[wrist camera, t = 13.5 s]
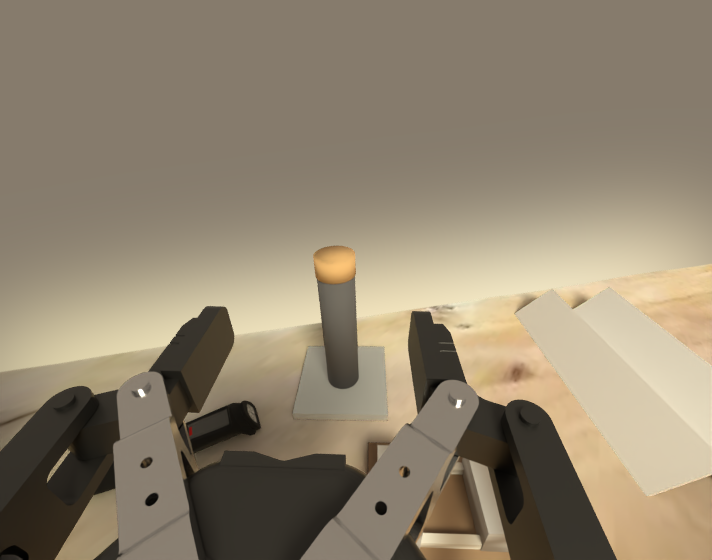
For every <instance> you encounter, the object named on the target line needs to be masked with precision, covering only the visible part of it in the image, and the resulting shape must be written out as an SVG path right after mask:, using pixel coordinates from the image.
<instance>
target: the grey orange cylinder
mask: <svg viewBox="0 0 712 560" xmlns="http://www.w3.org/2000/svg"><path fill="white" fill-rule="evenodd" d="M313 258H314V266H315V274H316V278H317V283H318V292H319V301H320V309H321V319H322V328H323V337H324V346H325V354H326V363H327V372H328V380H329V383H330V384H331V385H332V386H333V387H335V388H338V389H347V388H350V387H352V386H354V385H355V384H356V383H357V381H358V379H359V370H358V345H357V320H356V298H355V297H356V296H355V274H356V268H355V252H354V251H353V250H352V249H351V248H348V247H344V246H329V247H324V248H322V249H319V250H318V251H316V252H315V253H314V255H313Z"/></svg>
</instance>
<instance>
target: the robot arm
mask: <svg viewBox="0 0 712 560" xmlns="http://www.w3.org/2000/svg"><path fill="white" fill-rule="evenodd" d="M233 343H234V332H233V329H232V325H231V321H230V318H229V314H228V311H227V309H226V307H215V306H207V307H205V308H204V309H203V311H202V312H201V314H200V315H199V316H198V318H192V319H191V320H190V321H188V322H187V323H186V324H184V325H183V326H182V327H181V328H180V330H179V331H178V332H177V334H176V337H174V338H173V339H172V341H171V342H170V344H169V345H168V346H167V347H166V349H165V350H164V351H163V353H162V354H161V355H160V357H159V358H158V359H157V361H156V362H155V363H154V365H153V366H152V367H151V369H150V370H149V371H148V372H144V373H141V374H138V375H136V376H134V377H132V378H130V379H129V380H127V381H126V382H125V383H124V384H123V385H122V386H121V387H120V389H119V390H115V391H110V392H106V393H101V394H97V395H94V394H93V393H92V391H91V390H90V389H89V388H88V387H85V386H77V387H72V388H69V389H66V390H64V391H62V392H60V393H58V394H56V395H55V396H53V397H52V398H50V399H49V400H48V401H47V402H46V403H45V404H44V405H43V406H42V407H41V408H40V409H39V410H38V411H37V412H36V414H35V415H34V416H33V417H32V418H31V419H30V420H29V421H28V422H27V423H26V424H25V425H24V427H23V428H22V429H21V430H20V431H19V432H18V433H17V434H16V435H15V436H14V437H13V438H12V440H11V441H10V442H9V443H8V444H7V445H6V446H5V447H4V448H3V449H2V450H1V451H0V560H54V559H55V558H56V556H57V554H58V553H59V551H60V549H61V548H62V546H63V544H64V543H65V541H66V539H67V538H68V536H69V535H70V533H71V531H72V530H73V528H74V526H75V525H76V523H77V521H78V520H79V518H80V516H81V515H82V513H83V511H84V510H85V508H86V506H87V505H88V503H89V501H90V500H91V498H92V496H93V495H94V493H95V491H96V490H97V488H98V486H99V485H100V483H101V481H102V480H103V478H104V477H105V475H106V473H107V472H108V470H109V468H110V467H111V465H112V463H113V462H114V470H115V486H116V503H117V520H118V536H119V538H118V539H117V540H116V541H114V542H113V543H112V544H111V545H110V546H109V547H108V548H106V549H105V550H104V551H103V552H102V553H101V554H100V555H98V556H97V557H96V558H95V559H94V560H427V559H426V558H425V556H424V555H423V553H422V552H421V550H420V549H419V547H418V546H417V544H416V543H417V541H418V539H419V537H420V535H421V533H422V532H423V530H424V528H425V526H426V524H427V522H428V520H429V518H430V516H431V514H432V512H433V509H434V507H435V505H436V502H437V500H438V498H439V496H440V494H441V492H442V490H443V488H444V486H445V484H446V483H447V481H448V479H449V477H450V475H451V473H452V471H453V469H454V467H455V465H456V464H457V462H458V460H459V458H460V457H463V458H465V459H468V460H471V461H474V462H476V463H479V464H482V465H484V466H487V467H488V471H489V475H490V479H491V483H492V487H493V491H494V495H495V499H496V503H497V507H498V511H499V515H500V519H501V523H502V527H503V531H504V535H505V539H506V543H507V547H508V551H509V555H510V559H511V560H617V559H616V557H615V554H614V552H613V550H612V548H611V546H610V544H609V542H608V539H607V537H606V535H605V533H604V531H603V529H602V527H601V525H600V522H599V520H598V518H597V516H596V514H595V512H594V510H593V507H592V505H591V503H590V501H589V499H588V497H587V495H586V492H585V490H584V488H583V486H582V484H581V482H580V480H579V478H578V475H577V473H576V471H575V469H574V467H573V465H572V463H571V460H570V458H569V456H568V454H567V452H566V450H565V448H564V446H563V443H562V441H561V439H560V437H559V435H558V433H557V431H556V428H555V426H554V424H553V422H552V420H551V418H550V417H549V415H548V414H547V413H546V412H545V411H544V410H543V409H542V408H541V407H539V406H538V405H536V404H534V403H532V402H529V401H526V400H514V401H511V402H510V403H508V405H507V406H503V405H500V404H496V403H493V402H490V401H487V400H485V399H483V398H481V397H479V396H478V395H477V394H476V392H475V391H474V390H473V389H472V388H471V387H470V386H469V385H467V382H466V380H465V377H464V373H463V370H462V367H461V364H460V361H459V358H458V355H457V352H456V349H455V346H454V344H453V339H452V336H451V333H450V332H449V331H448V329H447V328H446V327H445V326H444V325H443V324H433V320H432V316H431V313H430V312H423V311H412V314H411V322H410V330H409V338H408V351H409V358H410V365H411V372H412V379H413V385H414V392H415V399H416V406H417V412H418V415H417V417H416V418H415V419H414V421H413V422H412V423H411V424H408V423H407V424H405V425H404V426H403V427H402V428H401V430H400V431H399V432H398V434H397V435H396V437H395V438H394V439H393V441H392V442H391V443H390V445H389V446H388V447H387V449H386V450H385V452H384V453H383V454H382V456H381V457H380V458H379V460H378V461H377V462H376V464H375V465H374V467H373V468H372V469H371V471H370V472H369V473H368V475H366V474H364V473H363V472H361V471H360V470H358V469H356V468H354V467H352V466H349V465H347V464H346V455H336V454H313V455H308V456H304V457H300V458H295V459H291V460H286V461H281V460H278V459H275V458H272V457H269V456H266V455H263V454H260V453H257V452H248V451H225V452H224V454H223V457H222V459H221V461H219V462H216V463H213V464H210V465H208V466H206V467H204V468H202V469H200V470H199V469H198V466H197V463H196V460H195V457H194V453H193V449H192V446H191V442H190V438H189V435H188V431H187V427H186V424H185V421H184V418H185V416H186V414H187V413H188V412H191V413H199V412H200V410H201V408H202V406H203V404H204V402H205V400H206V399H207V397H208V395H209V393H210V391H211V389H212V387H213V385H214V383H215V381H216V379H217V377H218V375H219V373H220V371H221V369H222V367H223V365H224V363H225V361H226V359H227V357H228V355H229V353H230V351H231V349H232V347H233ZM67 448H68V450H69V451H70V453H69V454H68V455H67V457H66V458H65V459H64V461H63V462H62V464H61V465H60V466H59V468H58V469H57V470H56V472H55V473H54V474H53V476H52V477H51V478H50V480H49V481H48V483H47V478H48V475H49V473H50V471H51V470H52V468H53V467H54V466H55V464H56V463H57V462H58V460H59V459H60V458H61V456H62V455H63V454H64V452H65V451H66V450H67Z"/></svg>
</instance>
